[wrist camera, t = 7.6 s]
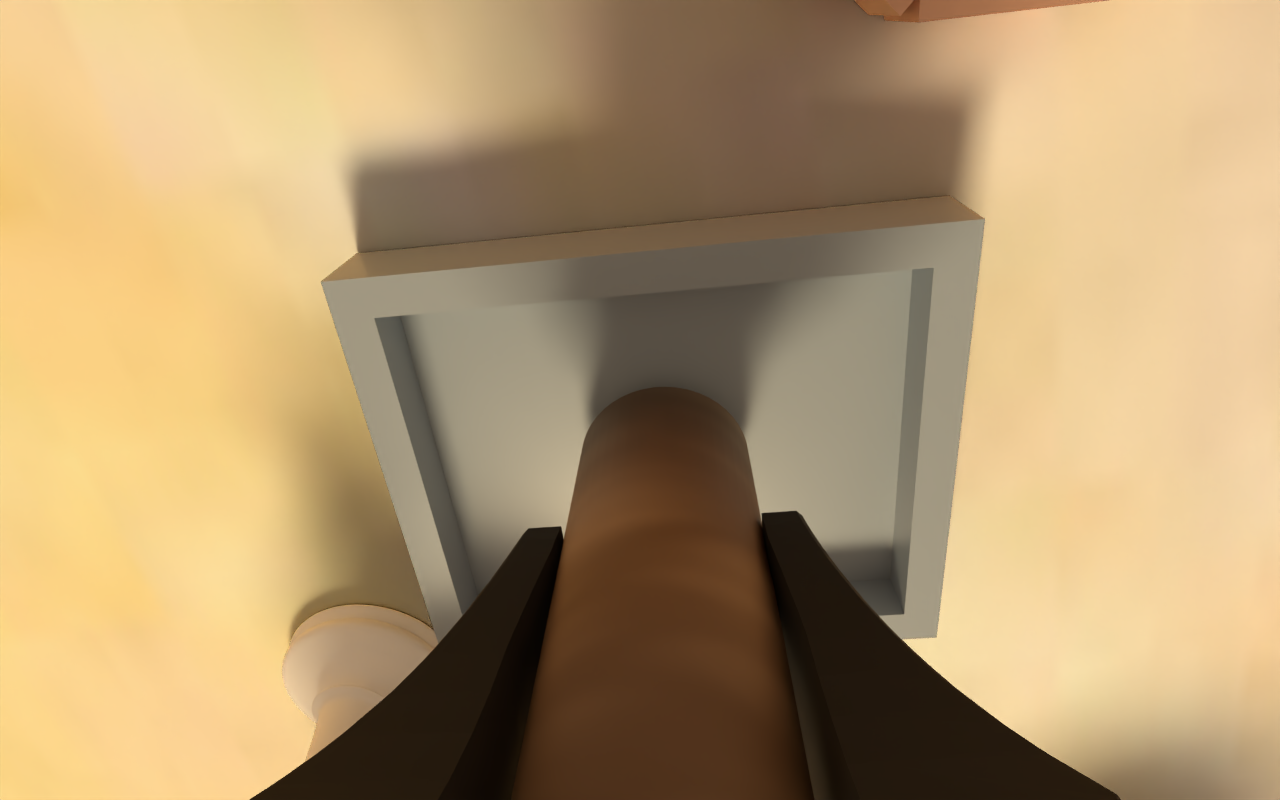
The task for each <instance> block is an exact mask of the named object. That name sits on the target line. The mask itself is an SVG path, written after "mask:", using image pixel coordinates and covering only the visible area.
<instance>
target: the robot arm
mask: <svg viewBox="0 0 1280 800" xmlns="http://www.w3.org/2000/svg"><path fill="white" fill-rule="evenodd" d="M762 530H763V535H764V541H765V546H766V551H767V557H768V562H769V567H770V571H771V575H772V579H773V584H774V589H775V594H776V600H777V605H778V610H779V616H780V621H781V626H782V631H783V637H784V642H785V647H786V652H787V658H788V663H789V668H790V673H791V679H792V684H793V689H794V695H795V700H796V705H797V710H798V716H799V721H800V726H801V731H802V737H803V742H804V747H805V753H806V758H807V763H808V768H809V774H810V779H811V784H812V789H813V795H814V800H1121V799H1120V798H1119V797H1118V795H1116V794H1115V793H1113V792H1112V791H1110V790H1108V789H1107V788H1105V787H1103V786H1102V785H1100V784H1098V783H1096V782H1095V781H1093V780H1091V779H1090V778H1088V777H1086V776H1085V775H1083V774H1081V773H1079V772H1078V771H1076V770H1074V769H1073V768H1071V767H1069V766H1068V765H1066V764H1064V763H1062V762H1061V761H1059V760H1057V759H1056V758H1054V757H1052V756H1051V755H1049V754H1047V753H1046V752H1044V751H1043V750H1041V749H1039V748H1038V747H1036V746H1035V745H1033V744H1032V743H1031V742H1029V741H1028V740H1026V739H1025V738H1023V737H1022V736H1020V735H1019V734H1017V733H1016V732H1014V731H1013V730H1011V729H1010V728H1008V727H1007V726H1005V725H1004V724H1002V723H1001V722H1000V721H998V720H997V719H996V718H995V717H993V716H992V715H991V714H989V713H988V712H987V711H985V710H984V709H983V708H981V707H980V706H979V705H977V704H976V703H975V702H973V701H972V700H971V699H969V698H968V697H967V696H965V695H964V694H963V693H961V692H960V691H959V690H958V689H956V688H955V687H954V686H953V685H952V684H950V683H949V682H948V681H947V680H946V679H945V678H943V677H942V676H941V675H940V674H939V673H938V672H936V671H935V670H934V669H933V668H932V667H931V666H929V665H928V664H927V663H926V662H925V661H924V660H923V659H922V658H921V657H920V656H919V655H917V654H916V653H915V652H914V651H913V650H912V649H911V648H910V647H909V646H908V645H907V644H906V643H905V642H904V641H903V640H902V639H901V638H900V637H899V636H898V635H897V634H896V633H895V632H894V631H893V630H892V629H891V628H890V627H889V626H888V625H887V624H886V623H885V622H884V621H883V620H882V619H881V618H880V616H879V615H878V614H877V613H876V612H875V611H874V610H873V609H872V608H871V607H870V606H869V604H868V603H867V602H866V601H865V600H864V599H863V598H862V596H861V595H860V594H859V593H858V592H857V591H856V589H855V588H854V587H853V586H852V584H851V583H850V582H849V581H848V580H847V578H846V577H845V576H844V575H843V573H842V572H841V571H840V570H839V568H838V567H837V566H836V565H835V563H834V562H833V561H832V559H831V558H830V557H829V555H828V554H827V552H826V551H825V550H824V548H823V547H822V546H821V544H820V543H819V541H818V540H817V538H816V537H815V535H814V534H813V532H812V531H811V529H810V527H809V526H808V524H807V523H806V521H805V519H804V517H803V516H802V515H801V514H800V513H799V512H797V511H784V512H769V513H762ZM563 540H564V538H563V533H562V528H561V526H557V527H541V528H528V529H527V530H526V531H525V532H524V534H523V535H522V536H521V538H520V539H519V541H518V542H517V543H516V545H515V546H514V548H513V549H512V551H511V552H510V553H509V555H508V556H507V558H506V559H505V560H504V562H503V563H502V565H501V566H500V567H499V569H498V570H497V571H496V573H495V574H494V576H493V577H492V578H491V580H490V581H489V582H488V584H487V585H486V586H485V587H484V589H483V590H482V591H481V593H480V594H479V595H478V597H477V598H476V599H475V600H474V602H473V603H472V604H471V606H470V607H469V608H468V609H467V611H466V612H465V613H464V614H463V616H462V617H461V618H460V619H459V620H458V621H457V623H456V624H455V625H454V626H453V627H452V628H451V630H450V631H449V632H448V633H447V634H446V635H445V637H444V638H443V639H442V640H441V641H440V642H439V644H438V645H437V646H436V647H435V648H434V649H433V650H432V651H431V652H430V653H429V655H428V656H427V657H426V658H425V659H424V660H423V661H422V662H421V663H420V664H419V665H418V666H417V667H416V668H415V669H414V670H413V671H412V672H411V673H410V674H409V675H408V676H407V677H406V678H405V679H404V680H403V681H402V682H401V683H400V684H399V685H398V686H397V687H396V688H395V689H394V690H393V691H392V692H391V693H390V694H388V695H387V696H386V697H385V698H384V699H383V700H382V701H380V702H379V703H378V704H377V705H376V706H374V707H373V708H372V709H371V710H370V711H369V712H367V713H366V714H365V715H364V716H363V717H362V718H360V719H359V720H358V721H357V722H356V723H355V724H353V725H352V726H351V727H350V728H349V729H348V730H346V731H345V732H344V733H343V734H341V735H340V736H339V737H338V738H336V739H335V740H334V741H332V742H331V743H330V744H328V745H327V746H326V747H325V748H323V749H322V750H321V751H319V752H318V753H317V754H315V755H314V756H313V757H311V758H310V759H308V760H307V761H306V762H304V763H303V764H302V765H300V766H299V767H297V768H296V769H295V770H293V771H292V772H290V773H289V774H288V775H286V776H285V777H283V778H282V779H280V780H279V781H277V782H276V783H274V784H273V785H271V786H270V787H268V788H267V789H265V790H264V791H262V792H261V793H259V794H257V795H256V796H254V797H253V798H251V799H250V800H511V797H512V792H513V787H514V782H515V777H516V772H517V767H518V762H519V757H520V752H521V747H522V743H523V738H524V733H525V728H526V723H527V718H528V713H529V708H530V703H531V698H532V693H533V688H534V683H535V678H536V673H537V669H538V664H539V659H540V654H541V649H542V644H543V639H544V634H545V629H546V624H547V619H548V614H549V609H550V604H551V599H552V595H553V590H554V585H555V580H556V575H557V570H558V565H559V560H560V555H561V550H562V545H563Z"/></svg>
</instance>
